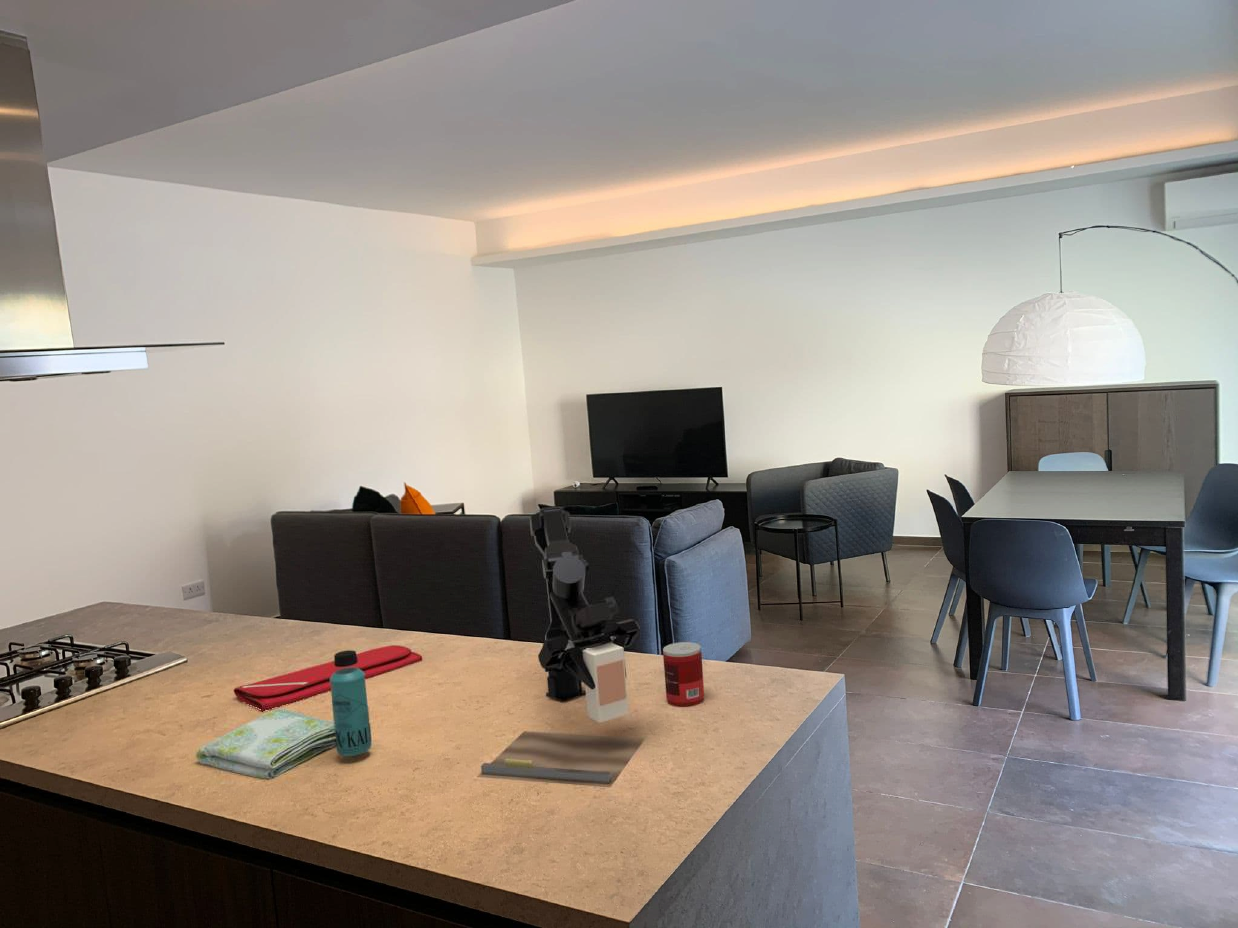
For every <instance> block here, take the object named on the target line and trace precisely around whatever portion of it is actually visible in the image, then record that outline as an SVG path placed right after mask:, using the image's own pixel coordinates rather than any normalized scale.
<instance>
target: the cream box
mask: <svg viewBox="0 0 1238 928" xmlns="http://www.w3.org/2000/svg"><path fill="white" fill-rule="evenodd" d="M582 651H583V660H584V662H585V664H586V666H587V668H588V670H589V672H590V674H591V676H592V678H593V681H594V683H595V688H594V689H590V688H589V687H588V686H587V685H585V684H584V686H585V688H584V689H585V691H586V694H585V696H586V698H585V699H586V712H587V713H586V714H587V717H588V718H590V719H591V720H593V721H595V722H596V723H598V724H599V723H600V724H601V723H604V722H607V721H609V720H614V719H617V718H621V717H623V716H627V715H629V704H628V689H627V674H626V675H625V668H626V661H625V662H624V659H625V648H623V647H620V646H618V645H615V644H613V643H609V644H602V645H598V646H594V647H591V648H587V649H586V650H582Z"/></svg>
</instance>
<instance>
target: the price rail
mask: <svg viewBox="0 0 1238 928" xmlns="http://www.w3.org/2000/svg"><path fill="white" fill-rule="evenodd" d="M481 772H482V775H495V776H508V777H521V778H534V779H547V780H560V781H573V782H586V783H599V784H610V783H611V781H612V778H611V772H602V771H588V770H574V769H561V768H547V767H533V761H532V760H518V759H505V764H491V762H490V763H489V762H484V763H482V764H481V766H480V773H481Z"/></svg>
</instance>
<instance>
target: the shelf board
mask: <svg viewBox="0 0 1238 928" xmlns="http://www.w3.org/2000/svg"><path fill="white" fill-rule="evenodd" d="M645 739H646V738H645V737H628V736H611V735H595V734H593V735H592V734H581V733H580V734H577V733H563V732H561V733H559V732H558V733H557V732H543V731H542V732H541V731H528V730H526V731H525V730H524V731H523V732H522V733H520V735H518V737H516V738H515V739H514V740H513V741H512V742H511V743H510V744H509V745H508V746H507V747H506V748H504V750H503V751H502V752H501V753H500V754H499V755H498V756H496V758H494V759H493V760H492V761H491V762H490V763H491V764H505V759H518V760H532V761H533V767H547V768H561V769H574V770H588V771H602V772H611V778H612V781H611V783H610V784H599V783H586V782H573V781H560V780H547V779H534V778H521V777H508V776H495V775H482V772H481V771H480V773H478V775H477V776H476V777H477V778H486V779H497V780H500V779H501V780H512V781H525V782H537V783H538V782H539V783H549V784H550V783H551V784H562V785H563V784H565V785H575V786H576V785H577V786H587V787H588V786H589V787H600V788H601V787H602V788H611V787H612V786H613V784H614V783H615V782H616V781H617V779H618V777H619V776H620V775H621V773H622V772H623V770H624V769H625V768H626V767H627V764H628V763H629V762H630V760H631V759H632V757H633V756H634V755H635V753H637V750H638V749H639V748H640V746H641V745H642V744H643V742H644V741H645Z"/></svg>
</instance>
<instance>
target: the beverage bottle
mask: <svg viewBox="0 0 1238 928" xmlns="http://www.w3.org/2000/svg"><path fill="white" fill-rule="evenodd" d="M356 654H357V652H356V650H342V651H339V652H336V653H335V654H334V655H333V658H334V659H333V661H334V665H335V666H336V667H347V666H351V665H354V664H356V663H357V662H358V659H357V655H356ZM330 683H331V691H330V693H331V706H332V708H331V709H332V717H333V719H332V721H333V722H334V723H333V724H334V726H335V733H334V735H335V736H336V739H335V743H336V746H335V748H336V751H337V754H338V755H339V756H342V757H352V756H358V755H362V754H364V753H366V752H368V751H369V750H370V749H371V747H372V741H373V740H372V739H373V737H372V733H371V732H372V729H371V722H370V711H369V710H370V708H369V707H370V706H369V705H368V697H367V696H368V695H367V685H366V680H365V673H364V672H363V671H362V670H360V669H358V668H356V667H347V668H342V669H339V670H337V671H335V672H334V674H333V675H332V676H331V677H330Z"/></svg>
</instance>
